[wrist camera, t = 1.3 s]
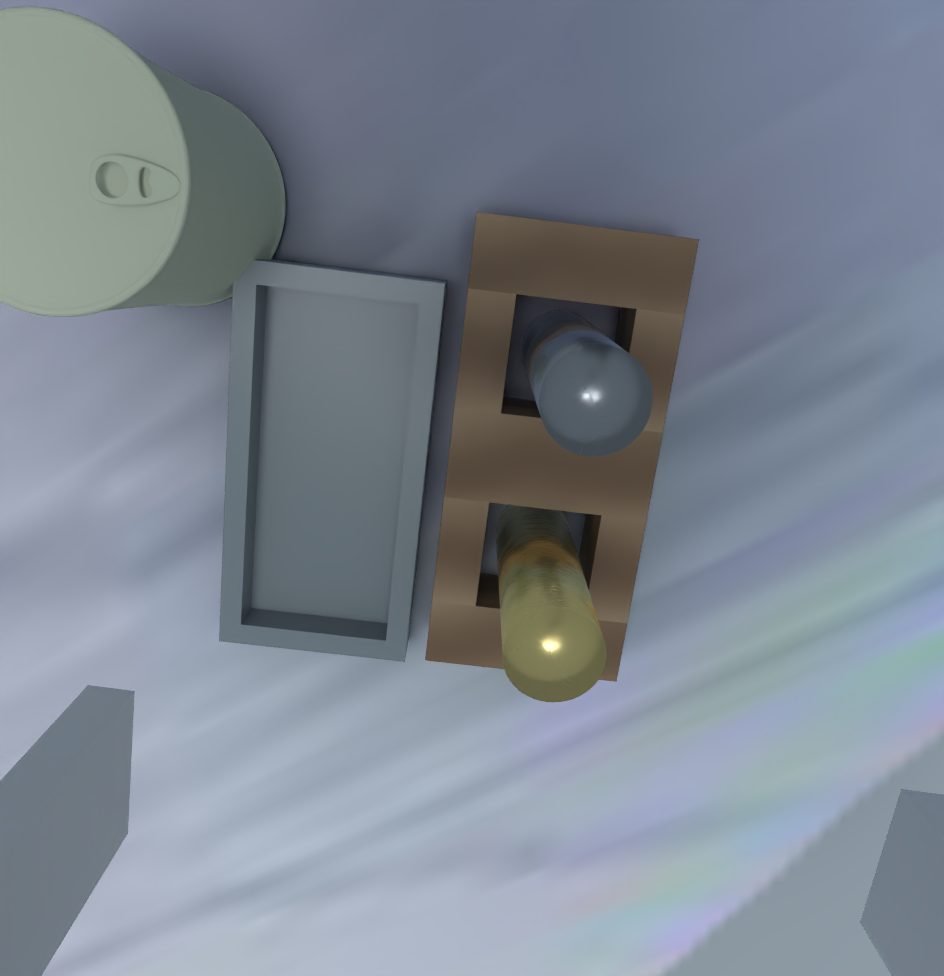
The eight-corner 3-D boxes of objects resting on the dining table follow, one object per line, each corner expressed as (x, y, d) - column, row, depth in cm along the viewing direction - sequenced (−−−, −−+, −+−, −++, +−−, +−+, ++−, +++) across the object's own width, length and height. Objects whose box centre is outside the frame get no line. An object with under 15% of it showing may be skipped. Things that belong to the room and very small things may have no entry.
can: (279, 318, 39) (179, 337, 27) (80, 292, 39) (-106, 300, 27) (293, 100, 36) (190, 17, 25) (81, 74, 36) (-121, -20, 25)
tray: (249, 256, 38) (233, 257, 36) (447, 280, 38) (445, 283, 36) (233, 618, 43) (219, 641, 41) (408, 638, 44) (404, 661, 41)
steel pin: (525, 306, 39) (547, 337, 26) (603, 315, 39) (662, 351, 26) (515, 383, 40) (531, 449, 27) (591, 392, 40) (641, 462, 27)
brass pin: (500, 492, 41) (509, 602, 29) (573, 501, 41) (614, 614, 29) (491, 561, 42) (496, 696, 30) (562, 569, 42) (597, 707, 30)
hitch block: (476, 214, 38) (476, 211, 34) (676, 239, 38) (699, 239, 34) (430, 622, 43) (425, 660, 39) (604, 642, 44) (616, 681, 40)
